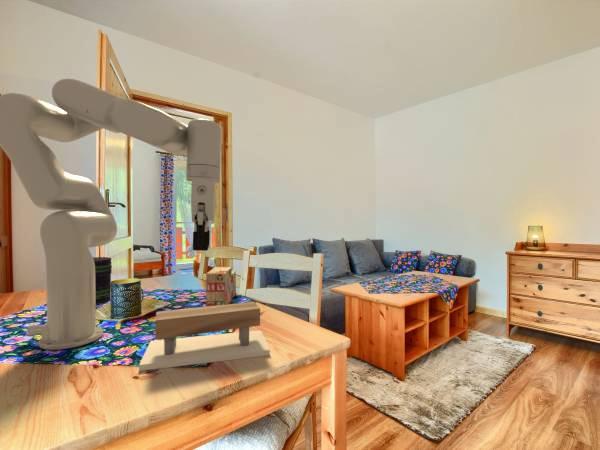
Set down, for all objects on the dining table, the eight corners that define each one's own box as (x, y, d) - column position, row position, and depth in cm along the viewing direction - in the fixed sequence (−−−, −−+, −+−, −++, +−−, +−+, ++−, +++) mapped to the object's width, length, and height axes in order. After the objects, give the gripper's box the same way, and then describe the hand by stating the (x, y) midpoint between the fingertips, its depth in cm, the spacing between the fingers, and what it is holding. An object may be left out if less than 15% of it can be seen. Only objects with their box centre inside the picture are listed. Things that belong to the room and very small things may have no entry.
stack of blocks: (220, 293, 121) (220, 262, 120) (236, 293, 121) (236, 262, 120) (205, 310, 99) (205, 272, 99) (225, 310, 99) (225, 272, 99)
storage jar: (85, 297, 112) (84, 257, 112) (115, 296, 115) (115, 256, 115) (74, 305, 103) (73, 261, 102) (107, 303, 106) (107, 260, 105)
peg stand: (139, 370, 60) (138, 344, 59) (150, 345, 71) (150, 323, 71) (269, 355, 67) (269, 331, 67) (260, 334, 78) (261, 314, 78)
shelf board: (260, 325, 71) (260, 308, 70) (155, 339, 62) (155, 320, 62) (253, 317, 76) (253, 301, 76) (156, 329, 67) (156, 311, 67)
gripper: (220, 171, 63) (218, 252, 64) (219, 180, 80) (218, 244, 81) (181, 168, 62) (180, 252, 62) (189, 178, 78) (188, 244, 79)
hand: (201, 247), depth 71 cm, fingers open, 9 cm apart
